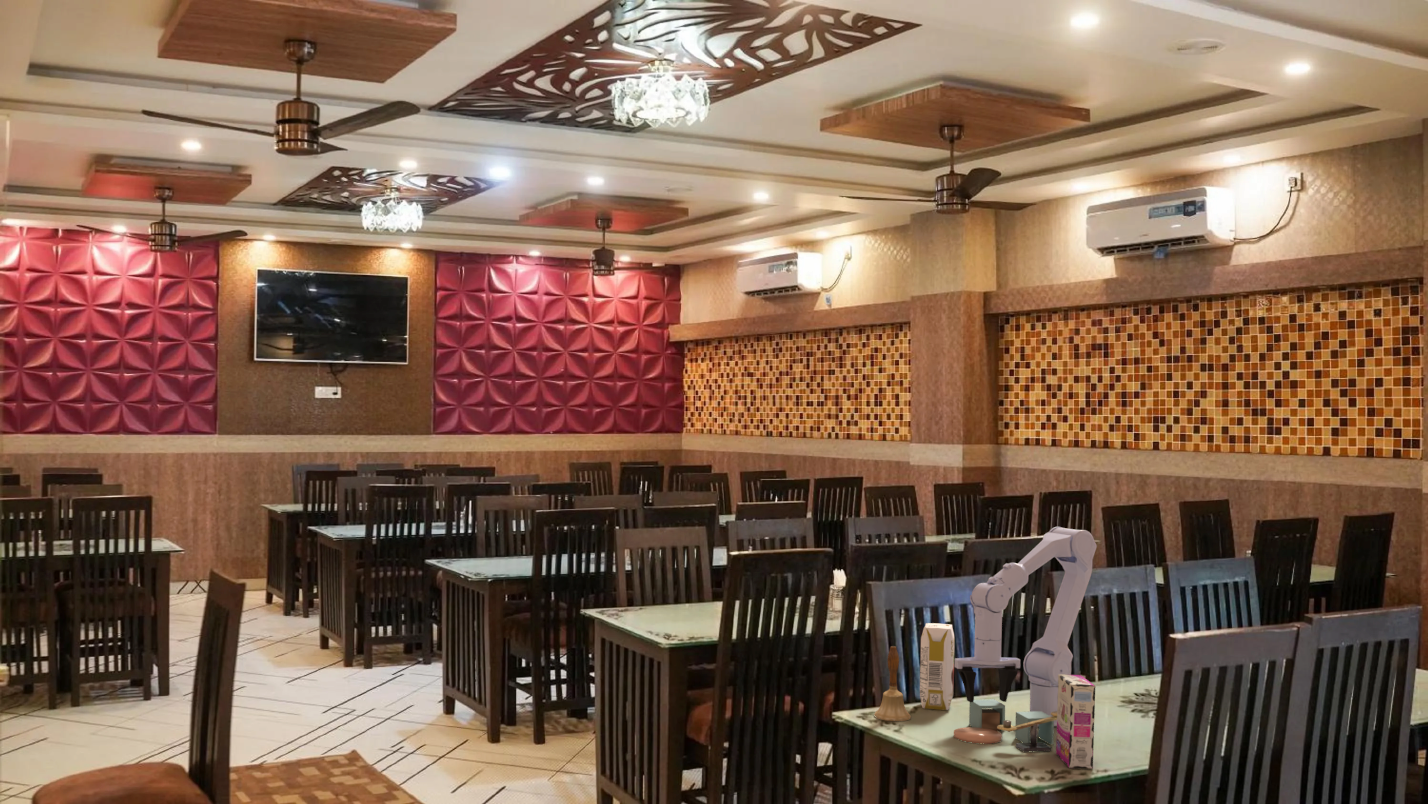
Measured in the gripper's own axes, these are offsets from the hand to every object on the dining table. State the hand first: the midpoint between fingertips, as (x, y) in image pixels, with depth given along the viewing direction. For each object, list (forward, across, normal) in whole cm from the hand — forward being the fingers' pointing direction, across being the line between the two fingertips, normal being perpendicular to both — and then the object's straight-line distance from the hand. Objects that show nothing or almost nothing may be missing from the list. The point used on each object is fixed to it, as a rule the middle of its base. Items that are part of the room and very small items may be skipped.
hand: (986, 700), depth 274 cm
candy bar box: (+6, -7, +27) cm, 29 cm away
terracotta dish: (+6, +5, +7) cm, 10 cm away
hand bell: (+6, +17, -13) cm, 22 cm away
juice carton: (+6, +3, -22) cm, 23 cm away
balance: (+6, -3, +17) cm, 18 cm away
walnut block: (+6, 0, 0) cm, 6 cm away
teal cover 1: (+6, -1, -1) cm, 6 cm away
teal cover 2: (+6, -6, +11) cm, 14 cm away
